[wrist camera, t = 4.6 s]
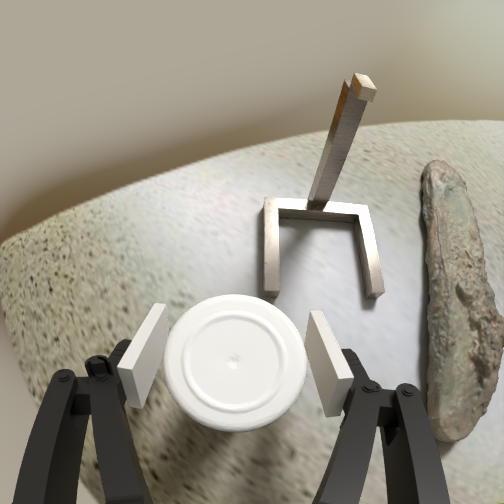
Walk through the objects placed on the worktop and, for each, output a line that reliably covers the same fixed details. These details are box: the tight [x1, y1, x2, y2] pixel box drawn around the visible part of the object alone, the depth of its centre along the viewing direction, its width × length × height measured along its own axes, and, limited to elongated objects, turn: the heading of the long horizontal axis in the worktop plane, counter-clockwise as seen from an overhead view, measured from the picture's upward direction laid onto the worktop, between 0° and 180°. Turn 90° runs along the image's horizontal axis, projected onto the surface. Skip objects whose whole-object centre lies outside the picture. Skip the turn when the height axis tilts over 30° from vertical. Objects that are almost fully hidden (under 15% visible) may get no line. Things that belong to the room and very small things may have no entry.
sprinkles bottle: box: [163, 294, 307, 432], centre depth 14 cm, size 5×5×14 cm
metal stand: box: [263, 73, 385, 298], centre depth 19 cm, size 10×10×15 cm
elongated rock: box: [422, 160, 504, 442], centre depth 23 cm, size 35×5×10 cm
